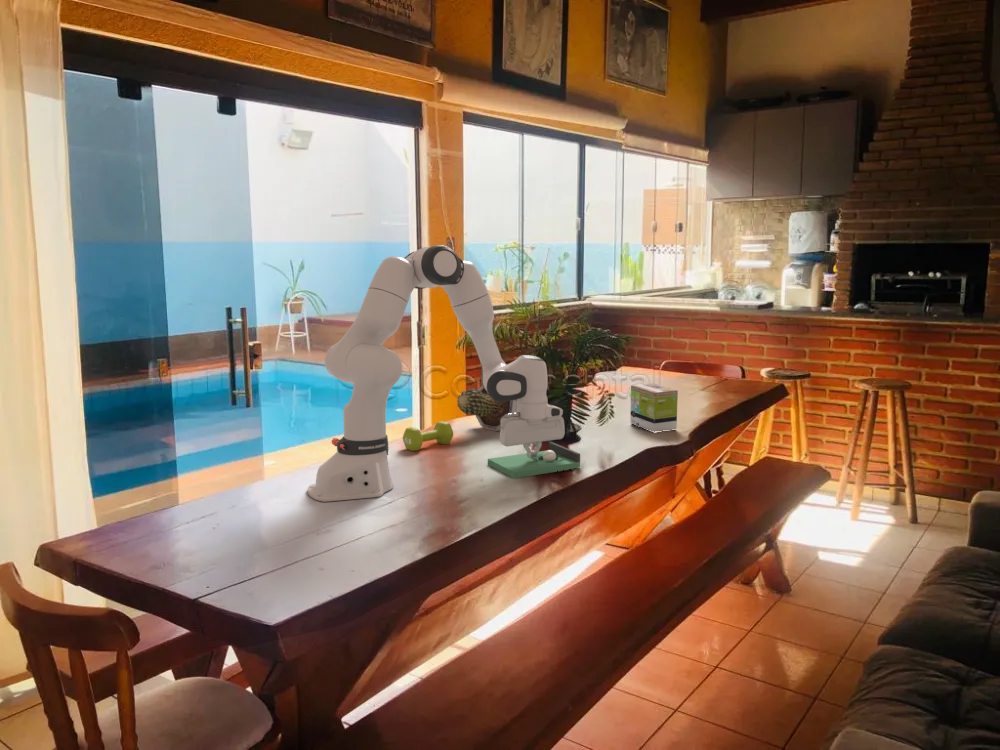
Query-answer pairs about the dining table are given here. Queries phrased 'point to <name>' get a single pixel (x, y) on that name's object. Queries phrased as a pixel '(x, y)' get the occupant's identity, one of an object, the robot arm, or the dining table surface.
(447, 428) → the dumbbell
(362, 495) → the robot arm
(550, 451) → the ball
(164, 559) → the dining table surface
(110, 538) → the dining table surface
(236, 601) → the dining table surface
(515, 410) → the potted plant
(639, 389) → the tea box
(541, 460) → the mat
